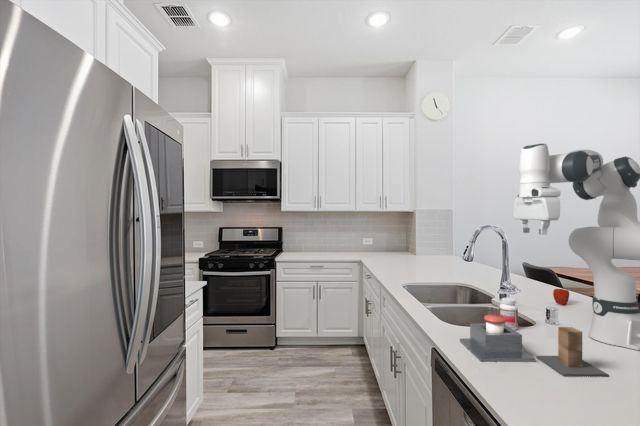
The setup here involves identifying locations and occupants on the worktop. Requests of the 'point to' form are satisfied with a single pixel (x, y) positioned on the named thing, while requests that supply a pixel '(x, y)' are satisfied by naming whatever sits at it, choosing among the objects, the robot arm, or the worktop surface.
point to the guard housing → (496, 345)
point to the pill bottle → (509, 312)
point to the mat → (565, 371)
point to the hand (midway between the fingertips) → (534, 233)
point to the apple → (561, 296)
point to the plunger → (494, 323)
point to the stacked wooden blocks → (570, 347)
